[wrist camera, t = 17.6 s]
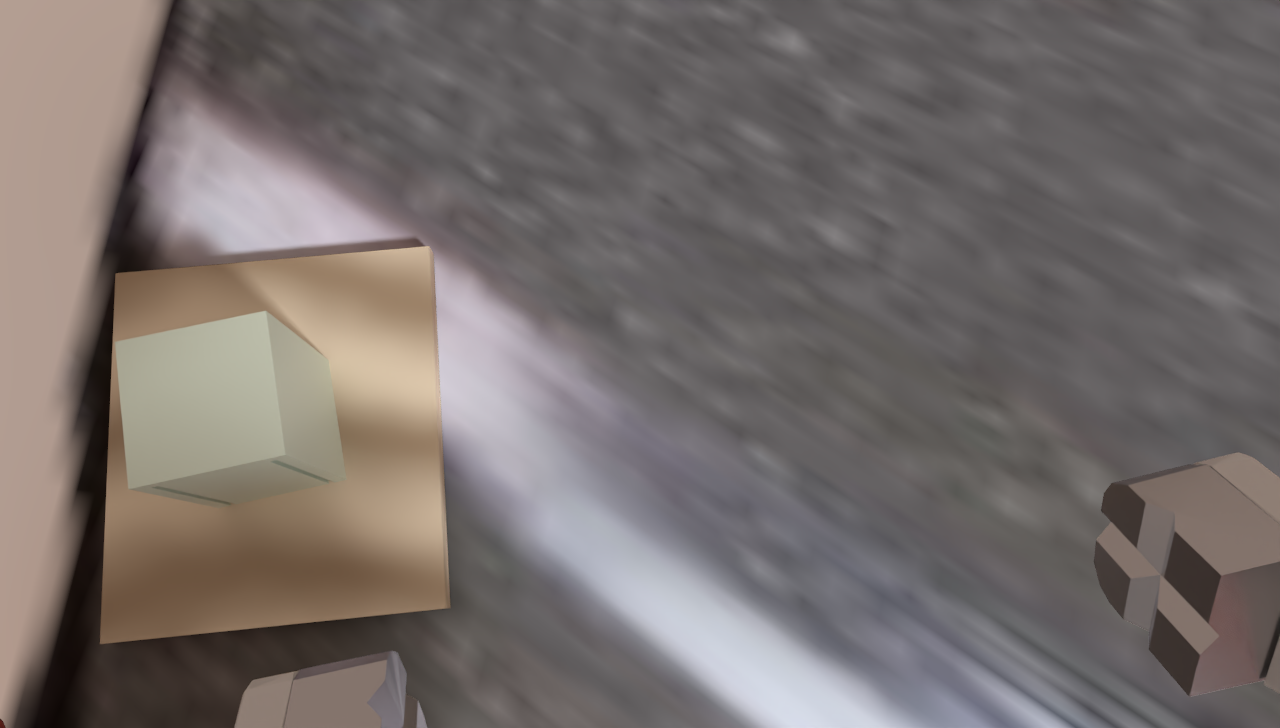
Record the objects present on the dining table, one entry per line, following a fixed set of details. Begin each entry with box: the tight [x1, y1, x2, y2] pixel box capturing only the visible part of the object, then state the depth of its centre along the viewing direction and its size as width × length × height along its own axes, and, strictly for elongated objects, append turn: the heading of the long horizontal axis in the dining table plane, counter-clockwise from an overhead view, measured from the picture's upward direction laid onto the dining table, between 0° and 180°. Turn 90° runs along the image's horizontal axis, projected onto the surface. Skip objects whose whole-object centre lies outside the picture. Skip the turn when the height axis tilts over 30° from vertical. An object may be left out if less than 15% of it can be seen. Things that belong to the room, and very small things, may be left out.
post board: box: [100, 246, 450, 644], centre depth 37 cm, size 16×14×6 cm
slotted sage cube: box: [115, 311, 347, 508], centre depth 36 cm, size 5×5×7 cm
